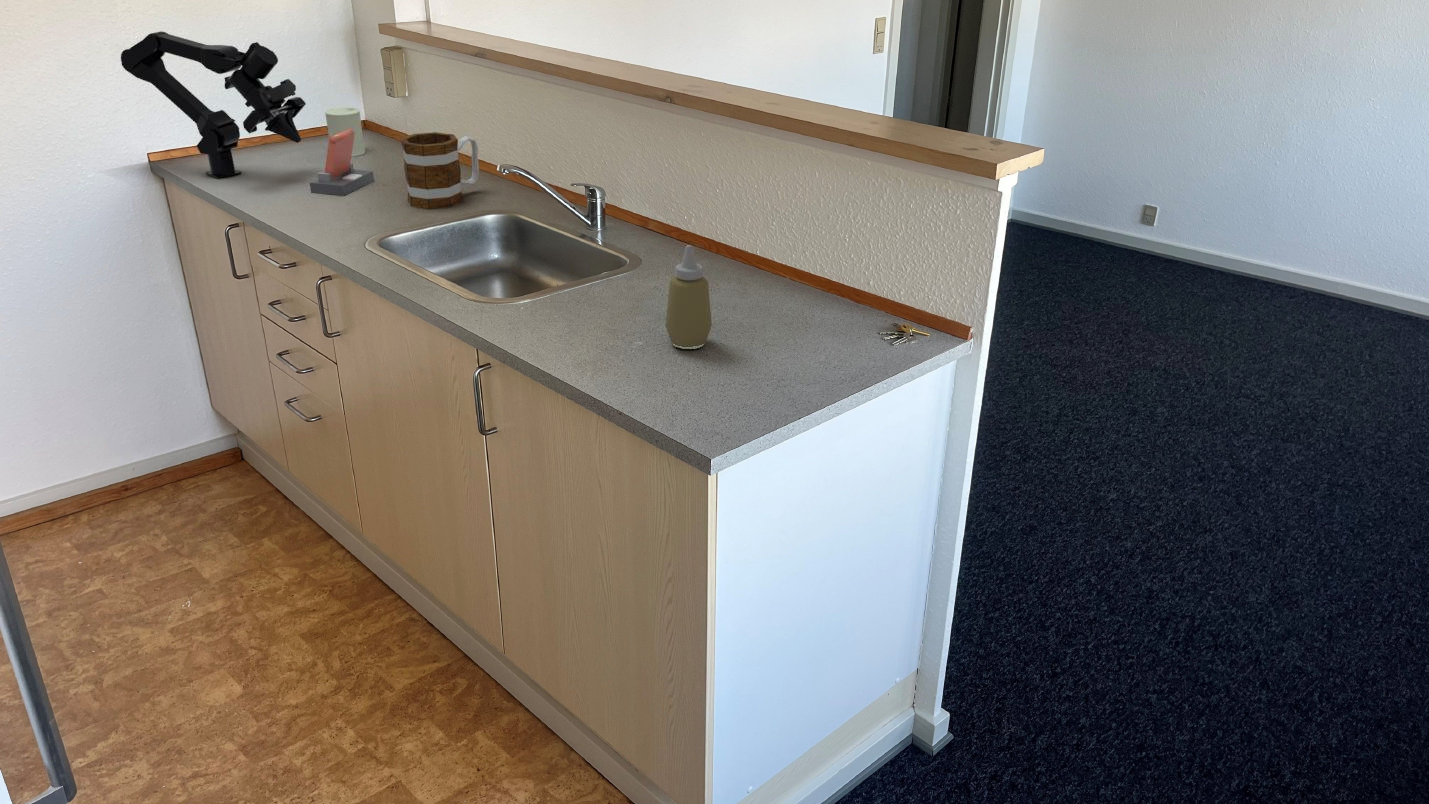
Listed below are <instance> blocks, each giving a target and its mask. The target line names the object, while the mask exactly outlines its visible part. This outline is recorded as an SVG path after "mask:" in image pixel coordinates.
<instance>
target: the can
mask: <svg viewBox="0 0 1429 804" xmlns="http://www.w3.org/2000/svg"><path fill="white" fill-rule="evenodd" d="M324 115H325V119H326V120H325V121H326V124H327V125H326V127H327V132H328V133H327V134H328V138H330V137H331V136H334V135H336V134H339V133H341V132H344V131H346V130H348V129H352V130H353V131H354V133H355V135H354V142H353V149H352V156H351V158H354V157H355V158H356V157H359V156H362V155H364V154H366V148H365V143H364V136H363V135H364V134H363V128H362V121H361V120H362V119H361V111H360V109H359V108H356V107H334V108H329V109H326V110H325V111H324Z"/></svg>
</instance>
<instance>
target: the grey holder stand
mask: <svg viewBox="0 0 1429 804" xmlns="http://www.w3.org/2000/svg"><path fill="white" fill-rule="evenodd" d="M354 168H355V167H354V163H353V162H351V163H350V169H349V171H348V172H345V173H343V174H341V175H339V176H337V177H335V178H333V179H332V177H331V173H325V172H321V171H320V172H317V178H316V179H315V180H312V181H310V182H309V188H310V193H313V194H323V195H333V196H339V197H344V196H347V195H348V194H351V193H353V192H354V191H356V190H358V189H361V188H363V187H364V186H366V185H369V184H370V183H373V182H374V181H375V178H374V171H373V170H367V169H366V170H364V169H354Z"/></svg>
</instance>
